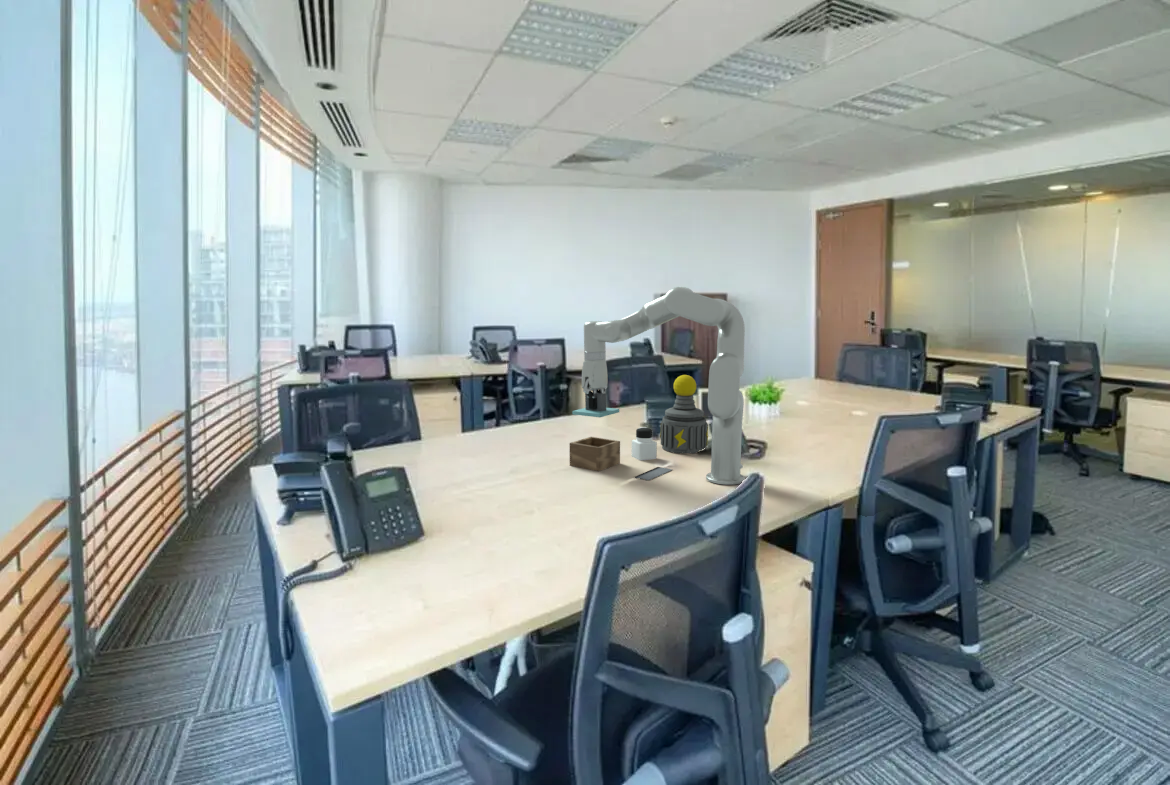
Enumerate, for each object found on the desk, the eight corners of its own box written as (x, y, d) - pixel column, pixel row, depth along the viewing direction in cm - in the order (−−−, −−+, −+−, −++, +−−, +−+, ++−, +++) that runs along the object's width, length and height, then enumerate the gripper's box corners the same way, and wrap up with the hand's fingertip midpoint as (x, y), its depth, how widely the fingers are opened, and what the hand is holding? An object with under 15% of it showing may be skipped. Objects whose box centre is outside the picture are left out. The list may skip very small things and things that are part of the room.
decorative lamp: (656, 452, 244) (657, 376, 240) (664, 442, 262) (665, 371, 258) (704, 455, 239) (706, 378, 234) (709, 444, 257) (711, 372, 252)
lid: (592, 409, 229) (592, 390, 228) (619, 412, 222) (619, 392, 221) (572, 414, 220) (571, 394, 219) (599, 417, 213) (599, 396, 212)
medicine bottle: (656, 460, 232) (657, 429, 230) (639, 462, 229) (639, 430, 228) (648, 456, 238) (648, 425, 237) (631, 458, 236) (631, 427, 234)
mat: (633, 463, 228) (633, 462, 228) (672, 470, 219) (672, 469, 219) (609, 472, 216) (609, 472, 216) (648, 480, 206) (648, 479, 206)
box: (591, 459, 233) (591, 436, 232) (619, 465, 225) (620, 441, 224) (569, 467, 223) (569, 443, 222) (599, 473, 215) (599, 448, 214)
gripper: (599, 354, 227) (600, 404, 230) (572, 358, 214) (573, 410, 217) (616, 355, 222) (617, 405, 225) (589, 358, 210) (590, 412, 212)
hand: (595, 407), depth 221 cm, fingers closed on lid, 3 cm apart
